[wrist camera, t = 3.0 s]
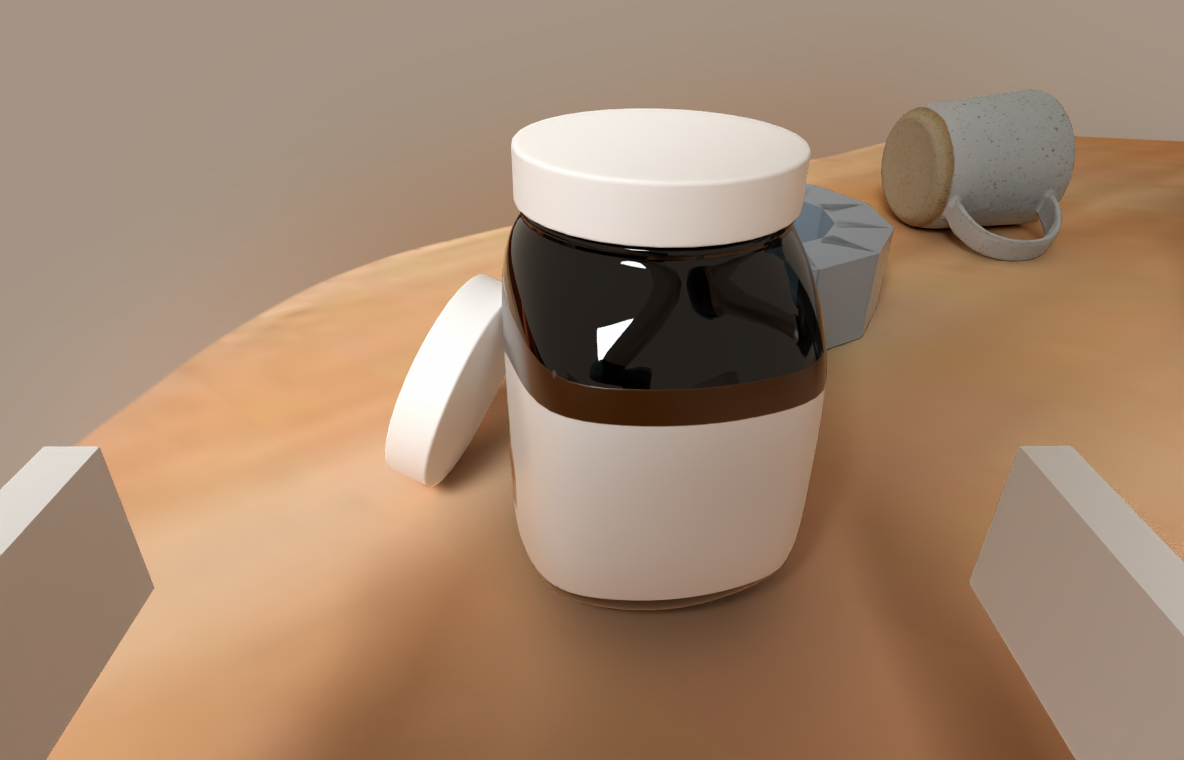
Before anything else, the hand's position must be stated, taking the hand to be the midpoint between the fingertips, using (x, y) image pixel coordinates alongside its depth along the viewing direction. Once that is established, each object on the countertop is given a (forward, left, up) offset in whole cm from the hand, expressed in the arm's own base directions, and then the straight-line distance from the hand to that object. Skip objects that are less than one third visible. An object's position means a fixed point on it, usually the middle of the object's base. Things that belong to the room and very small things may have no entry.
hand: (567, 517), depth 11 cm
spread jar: (0, -10, -8) cm, 13 cm away
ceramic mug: (-24, -35, -9) cm, 44 cm away
